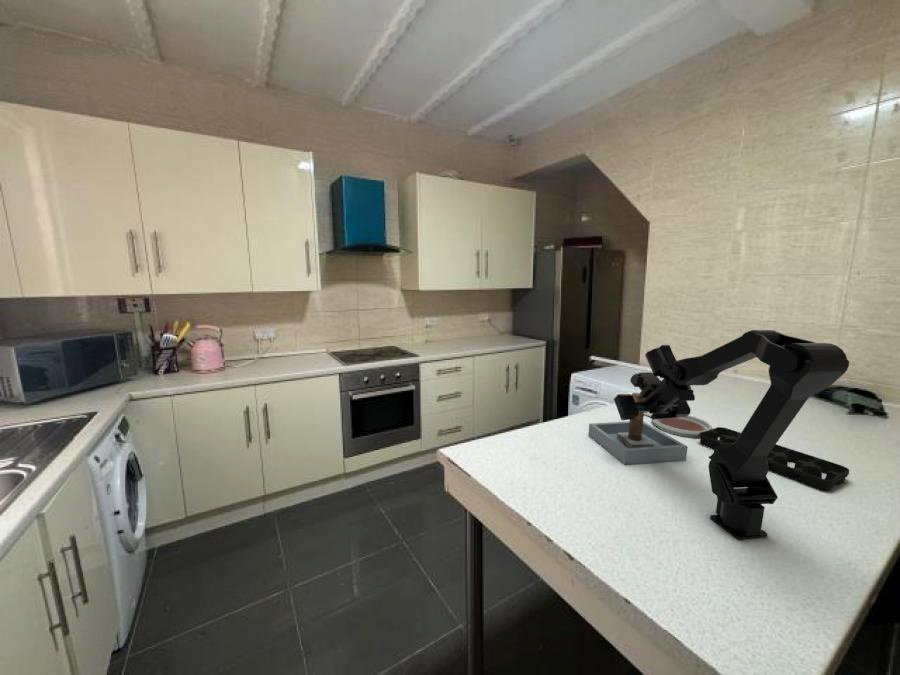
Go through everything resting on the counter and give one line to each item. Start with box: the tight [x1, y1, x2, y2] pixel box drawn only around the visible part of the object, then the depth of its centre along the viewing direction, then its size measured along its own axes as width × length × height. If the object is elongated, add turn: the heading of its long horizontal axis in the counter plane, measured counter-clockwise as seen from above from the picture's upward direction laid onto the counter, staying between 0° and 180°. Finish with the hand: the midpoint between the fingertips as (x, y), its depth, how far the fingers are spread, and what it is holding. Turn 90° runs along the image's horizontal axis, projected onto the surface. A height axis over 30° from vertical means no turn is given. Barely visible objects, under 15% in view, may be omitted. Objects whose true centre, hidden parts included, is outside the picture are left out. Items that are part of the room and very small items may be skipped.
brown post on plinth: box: [617, 392, 653, 448], centre depth 102 cm, size 8×6×15 cm
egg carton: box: [699, 426, 850, 493], centre depth 96 cm, size 18×30×4 cm, turn 38°
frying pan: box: [644, 411, 713, 439], centre depth 122 cm, size 17×3×28 cm
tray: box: [588, 420, 688, 466], centre depth 103 cm, size 18×18×4 cm
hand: (636, 418), depth 102 cm, fingers open, 9 cm apart
